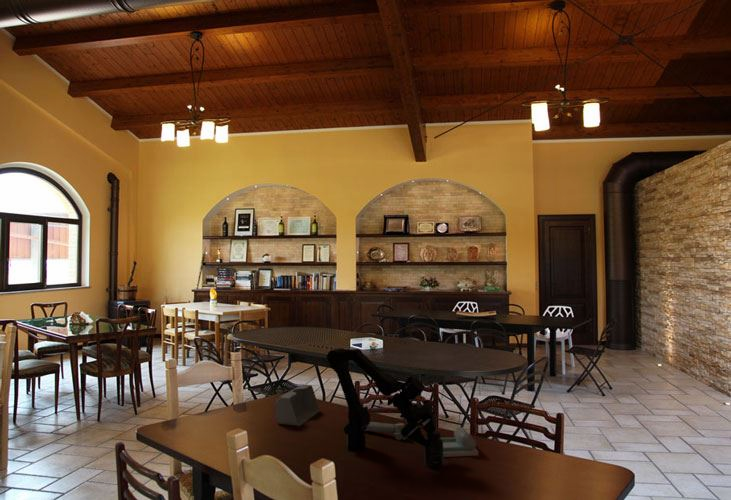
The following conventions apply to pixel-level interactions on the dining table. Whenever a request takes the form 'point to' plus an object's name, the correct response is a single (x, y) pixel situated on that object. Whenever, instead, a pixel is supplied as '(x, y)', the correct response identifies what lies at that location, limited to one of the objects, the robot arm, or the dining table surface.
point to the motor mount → (459, 444)
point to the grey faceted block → (296, 406)
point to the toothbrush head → (387, 428)
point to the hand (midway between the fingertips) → (433, 442)
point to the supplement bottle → (433, 449)
